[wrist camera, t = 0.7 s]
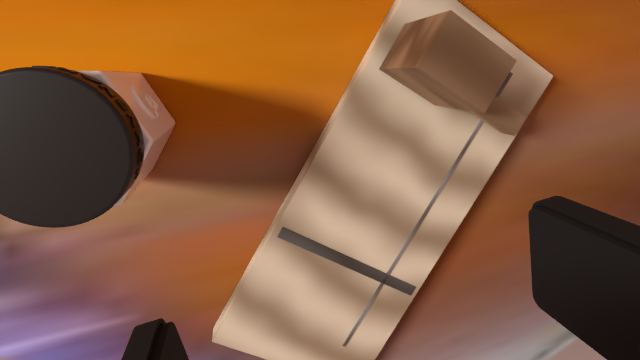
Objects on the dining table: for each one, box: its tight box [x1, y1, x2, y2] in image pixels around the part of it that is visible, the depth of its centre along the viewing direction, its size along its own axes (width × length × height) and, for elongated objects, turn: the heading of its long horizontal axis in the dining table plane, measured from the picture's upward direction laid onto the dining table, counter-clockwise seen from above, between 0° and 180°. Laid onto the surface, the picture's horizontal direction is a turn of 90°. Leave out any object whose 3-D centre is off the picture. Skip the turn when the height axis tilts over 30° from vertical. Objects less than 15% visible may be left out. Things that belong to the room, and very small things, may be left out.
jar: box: [0, 66, 175, 228], centre depth 25 cm, size 9×8×12 cm
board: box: [212, 0, 553, 360], centre depth 36 cm, size 36×16×2 cm, turn 151°
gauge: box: [379, 10, 526, 136], centre depth 30 cm, size 4×13×7 cm, turn 61°
